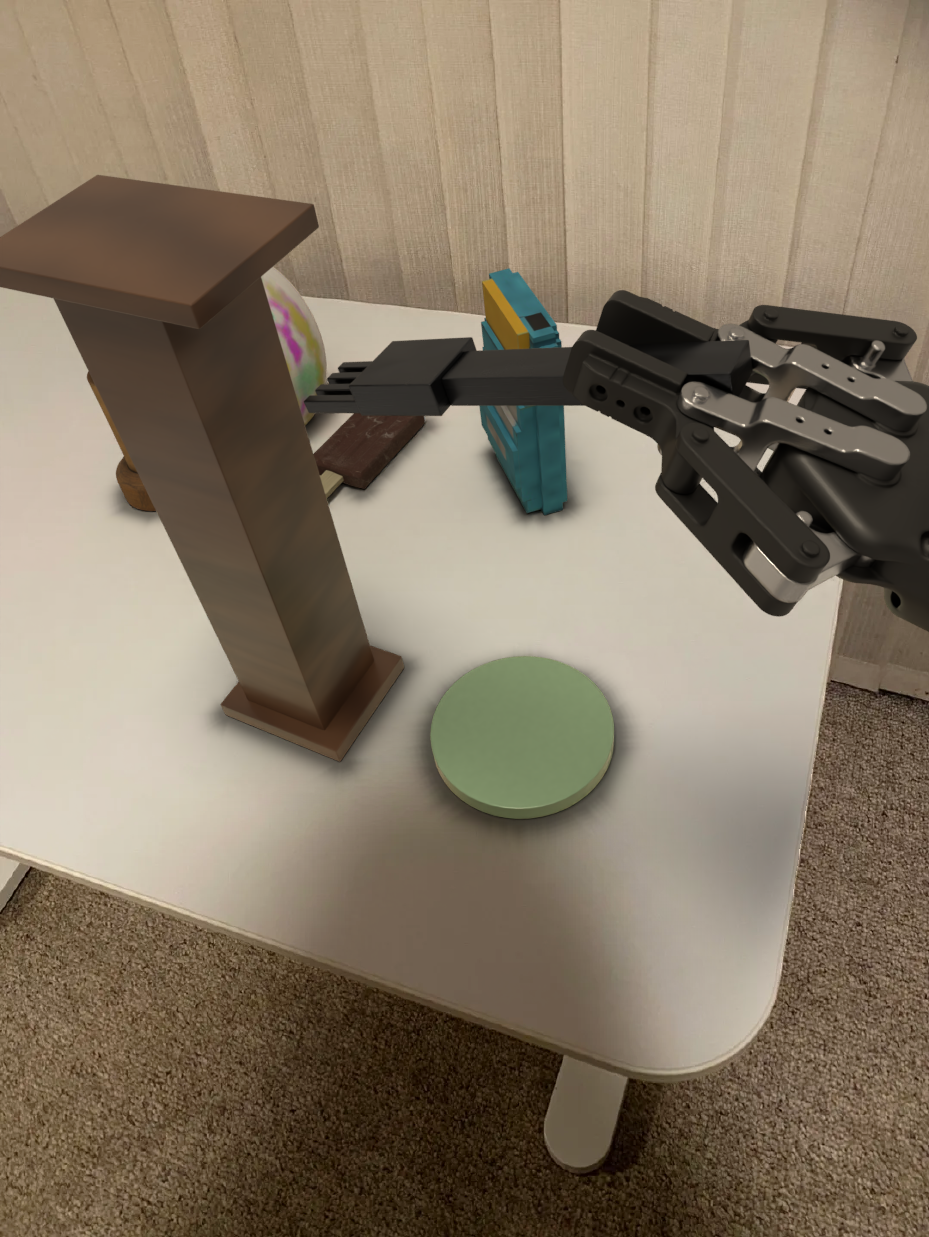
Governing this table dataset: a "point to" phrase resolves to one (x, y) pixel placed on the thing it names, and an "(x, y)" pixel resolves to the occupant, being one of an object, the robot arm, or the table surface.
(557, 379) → the fork
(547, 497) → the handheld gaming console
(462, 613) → the table surface
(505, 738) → the plate
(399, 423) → the ice cream bar
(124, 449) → the mortar and pestle
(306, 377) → the decorative egg
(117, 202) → the stand
